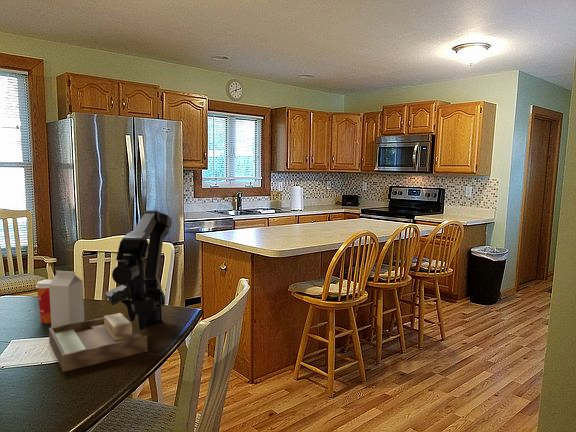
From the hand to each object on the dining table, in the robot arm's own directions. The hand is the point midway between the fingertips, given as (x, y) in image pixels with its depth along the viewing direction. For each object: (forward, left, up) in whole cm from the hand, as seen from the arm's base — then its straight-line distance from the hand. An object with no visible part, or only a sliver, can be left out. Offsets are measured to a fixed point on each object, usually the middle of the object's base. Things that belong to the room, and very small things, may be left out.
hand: (136, 325), depth 133 cm
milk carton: (+16, -23, -4) cm, 28 cm away
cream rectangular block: (+6, 0, -1) cm, 6 cm away
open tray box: (+12, 0, -4) cm, 12 cm away
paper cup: (+20, -33, -4) cm, 39 cm away
